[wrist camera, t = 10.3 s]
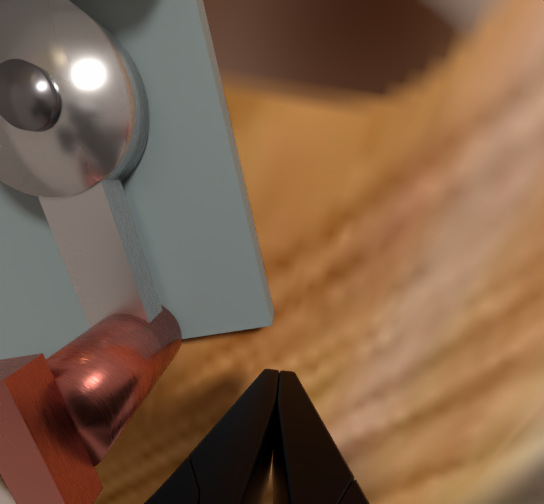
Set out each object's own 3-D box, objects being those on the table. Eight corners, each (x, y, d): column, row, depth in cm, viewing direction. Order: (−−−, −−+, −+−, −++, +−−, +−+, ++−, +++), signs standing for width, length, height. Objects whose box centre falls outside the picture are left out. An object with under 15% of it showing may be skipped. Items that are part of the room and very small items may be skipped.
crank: (-39, 40, 8) (-469, -139, 4) (116, -14, 8) (-171, -318, 3) (101, 383, 11) (-45, 535, 6) (225, 367, 10) (164, 523, 6)
